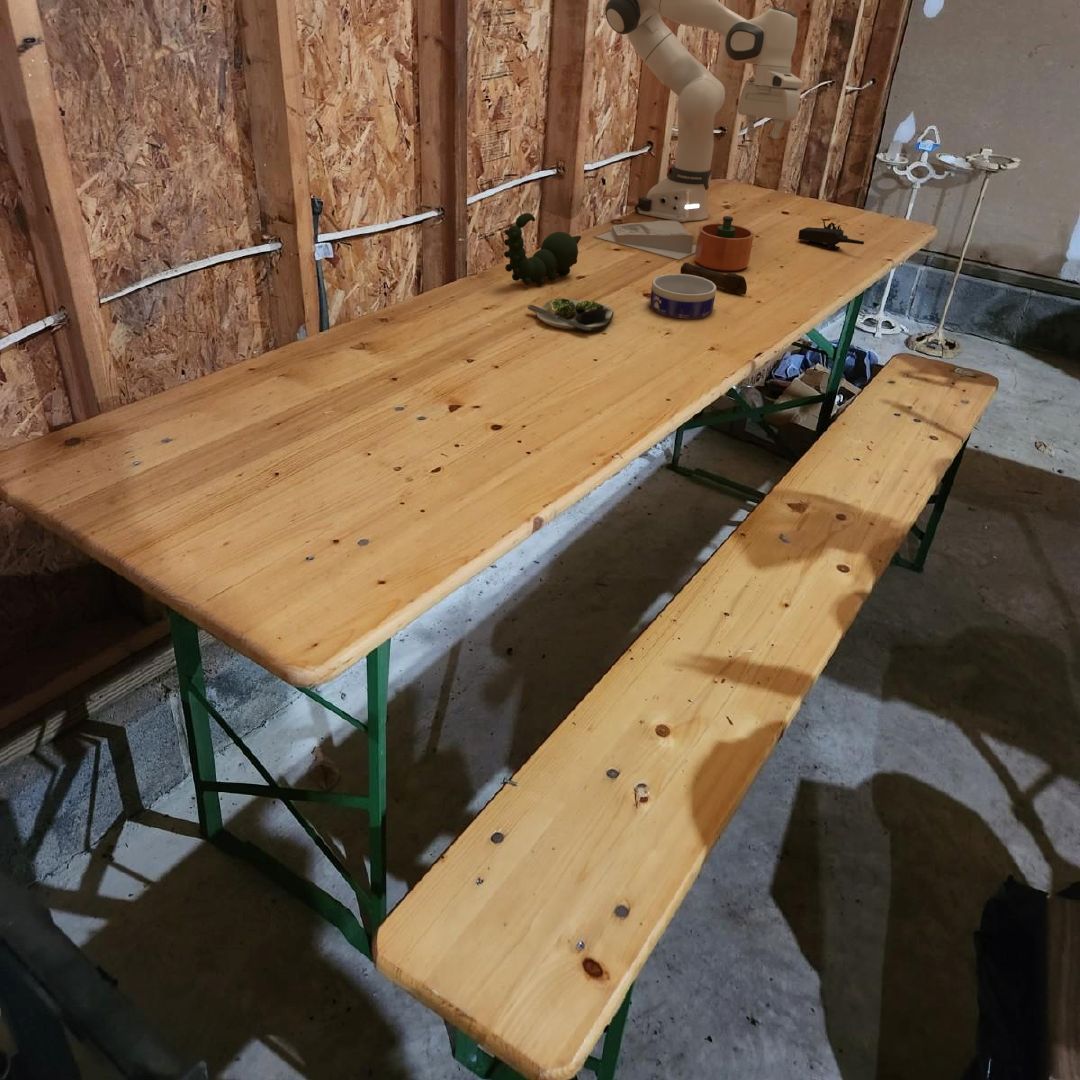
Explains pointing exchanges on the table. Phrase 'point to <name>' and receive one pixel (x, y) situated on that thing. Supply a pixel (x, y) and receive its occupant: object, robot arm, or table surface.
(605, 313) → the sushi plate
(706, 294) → the dog bowl
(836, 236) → the walkie-talkie
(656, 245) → the ramp
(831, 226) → the creature
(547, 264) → the toy figurine
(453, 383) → the table surface
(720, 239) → the pot
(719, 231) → the plant food bottle
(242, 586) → the table surface
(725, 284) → the dark brown rough bar
